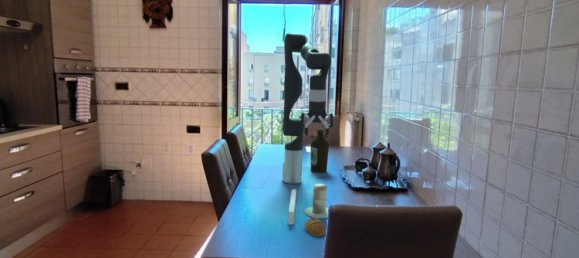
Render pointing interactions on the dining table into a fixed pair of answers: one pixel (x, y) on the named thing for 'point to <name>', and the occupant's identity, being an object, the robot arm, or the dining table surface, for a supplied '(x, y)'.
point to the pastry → (315, 227)
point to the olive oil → (319, 153)
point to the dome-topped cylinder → (319, 198)
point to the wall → (292, 207)
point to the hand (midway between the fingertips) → (316, 135)
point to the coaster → (309, 213)
